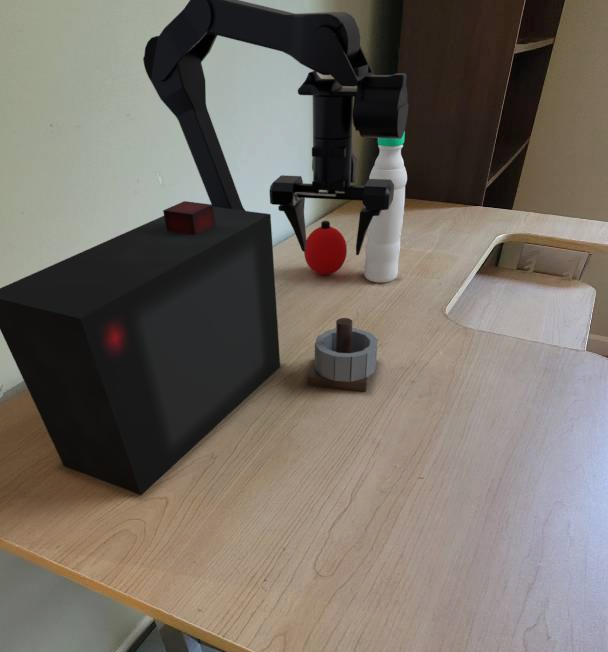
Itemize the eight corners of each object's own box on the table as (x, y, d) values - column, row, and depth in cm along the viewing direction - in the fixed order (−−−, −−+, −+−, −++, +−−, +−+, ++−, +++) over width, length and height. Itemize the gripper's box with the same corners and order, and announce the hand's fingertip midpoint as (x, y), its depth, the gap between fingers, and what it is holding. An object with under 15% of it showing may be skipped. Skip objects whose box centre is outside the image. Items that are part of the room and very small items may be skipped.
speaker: (51, 461, 69) (-42, 269, 51) (203, 348, 90) (174, 184, 72) (141, 495, 64) (72, 294, 46) (280, 366, 84) (269, 194, 67)
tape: (311, 379, 78) (310, 354, 76) (320, 350, 85) (320, 326, 82) (373, 383, 77) (375, 358, 74) (377, 353, 83) (379, 329, 81)
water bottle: (359, 281, 108) (366, 131, 90) (369, 269, 112) (378, 124, 94) (392, 285, 106) (406, 132, 88) (401, 273, 110) (416, 125, 92)
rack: (308, 385, 80) (307, 332, 74) (321, 357, 86) (321, 306, 80) (365, 391, 78) (369, 337, 72) (375, 363, 84) (379, 310, 78)
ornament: (322, 263, 116) (322, 212, 109) (354, 272, 112) (356, 219, 104) (296, 275, 111) (294, 222, 104) (328, 285, 107) (328, 231, 100)
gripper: (403, 126, 78) (393, 240, 90) (286, 124, 82) (290, 233, 93) (393, 141, 71) (383, 263, 83) (265, 138, 75) (272, 255, 86)
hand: (330, 252), depth 86 cm, fingers open, 9 cm apart
